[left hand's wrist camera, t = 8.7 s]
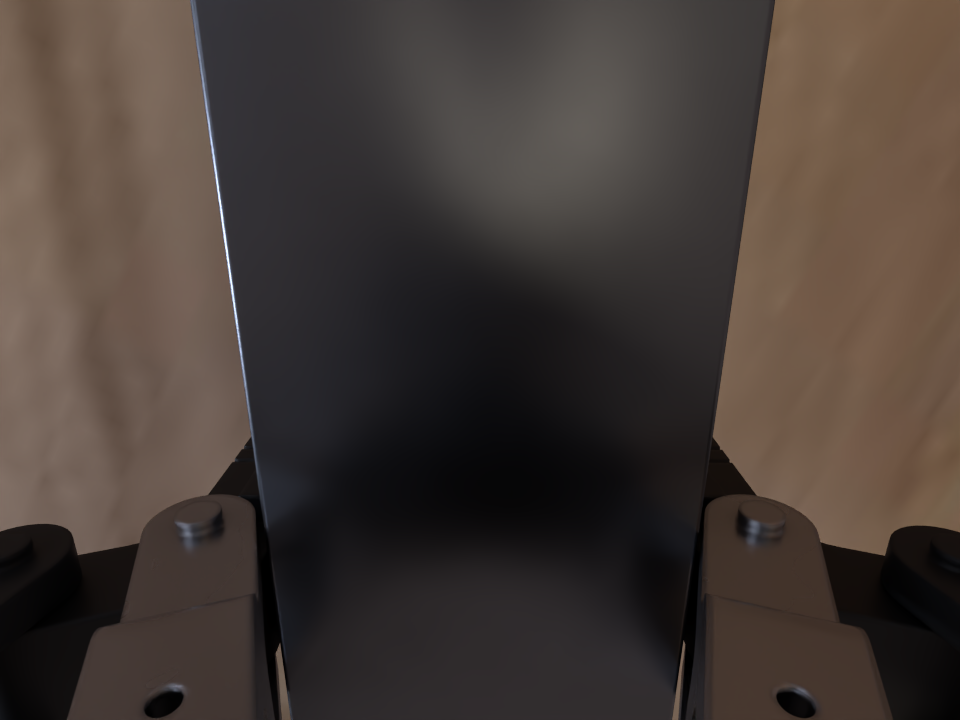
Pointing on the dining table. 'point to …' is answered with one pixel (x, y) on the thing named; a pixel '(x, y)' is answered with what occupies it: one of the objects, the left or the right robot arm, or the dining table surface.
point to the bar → (482, 334)
